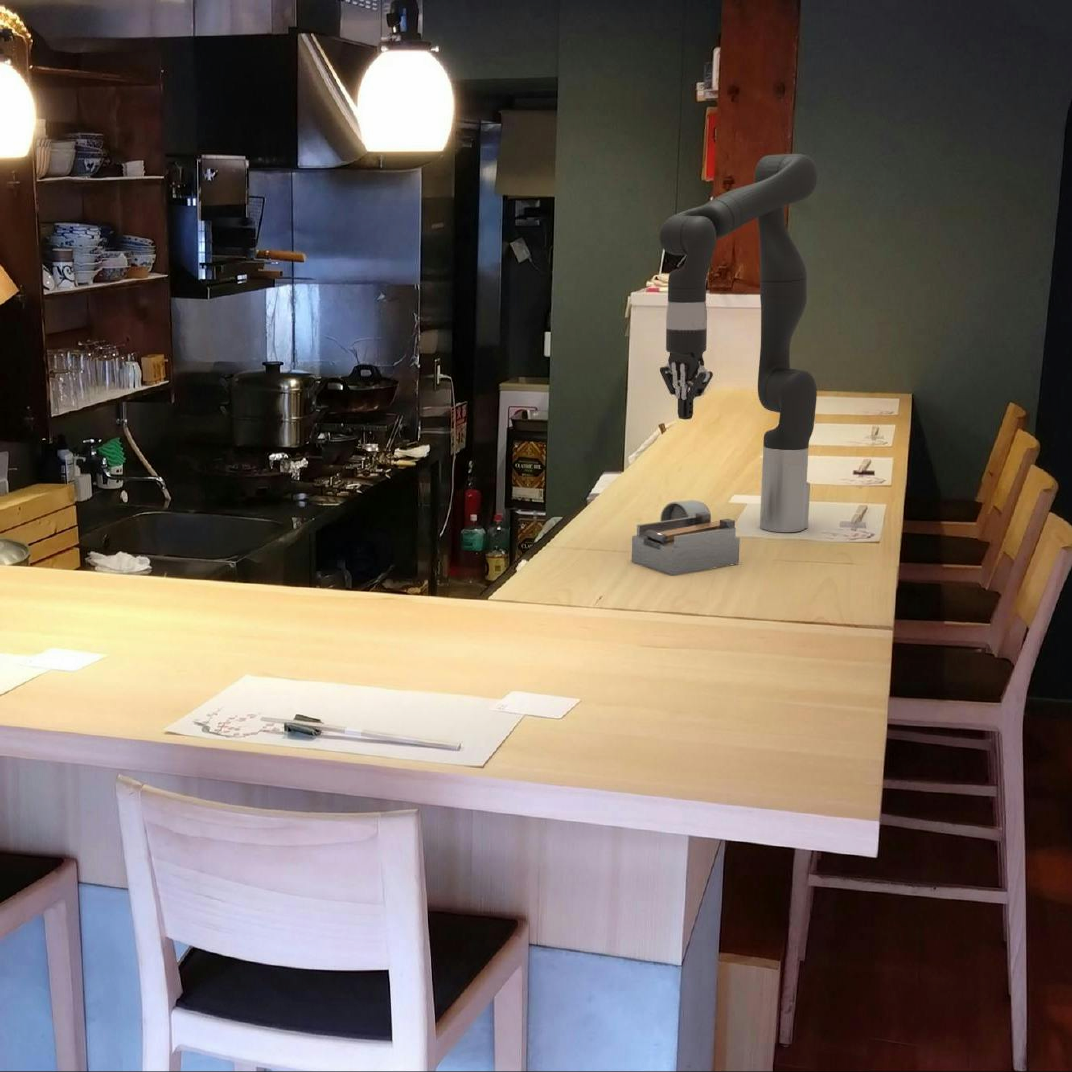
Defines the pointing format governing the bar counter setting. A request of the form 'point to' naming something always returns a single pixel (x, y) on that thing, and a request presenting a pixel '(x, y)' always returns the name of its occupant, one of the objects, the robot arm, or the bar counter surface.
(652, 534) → the strap
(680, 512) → the ceramic mug
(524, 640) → the bar counter surface
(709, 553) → the block
